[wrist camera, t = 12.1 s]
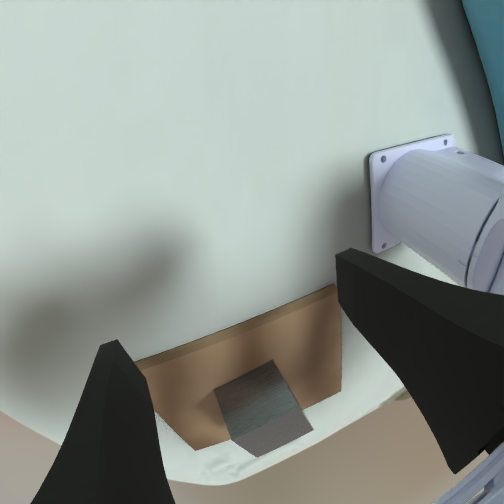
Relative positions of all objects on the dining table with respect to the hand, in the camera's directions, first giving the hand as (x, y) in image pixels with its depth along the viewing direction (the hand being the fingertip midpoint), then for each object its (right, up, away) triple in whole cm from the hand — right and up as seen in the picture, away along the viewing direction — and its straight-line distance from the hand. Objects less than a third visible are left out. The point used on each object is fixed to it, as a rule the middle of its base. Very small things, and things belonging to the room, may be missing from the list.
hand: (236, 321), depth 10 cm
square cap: (+1, -10, +16) cm, 19 cm away
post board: (0, -9, +17) cm, 19 cm away
